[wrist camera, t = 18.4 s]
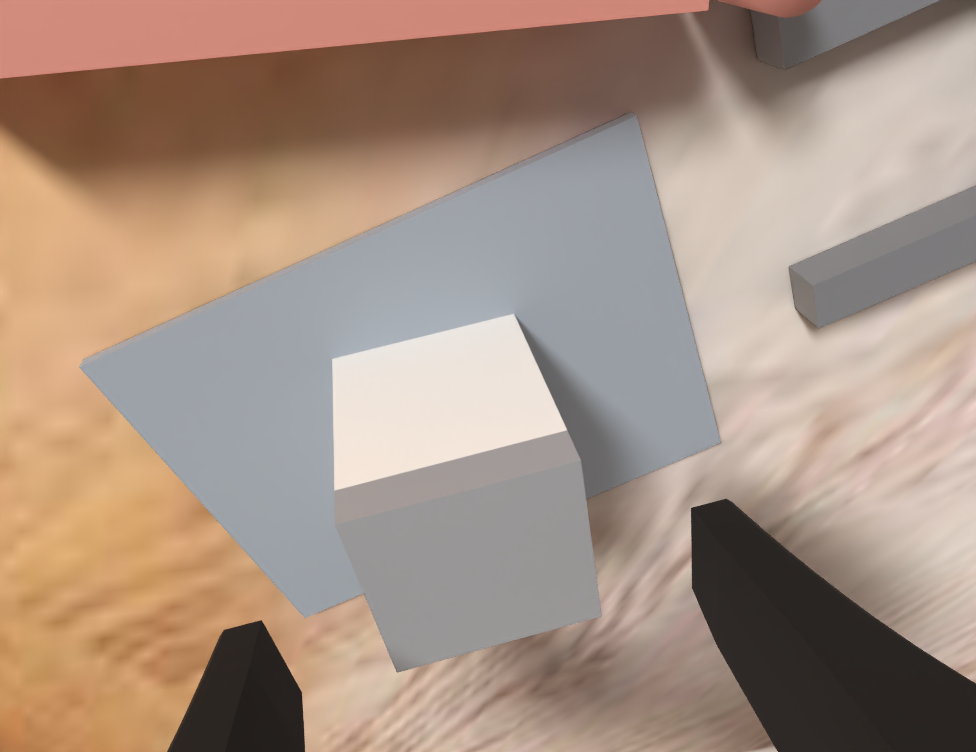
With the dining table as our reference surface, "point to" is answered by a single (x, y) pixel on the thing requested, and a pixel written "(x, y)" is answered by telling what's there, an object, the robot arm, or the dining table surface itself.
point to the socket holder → (890, 248)
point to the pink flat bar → (281, 25)
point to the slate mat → (416, 313)
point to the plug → (459, 493)
